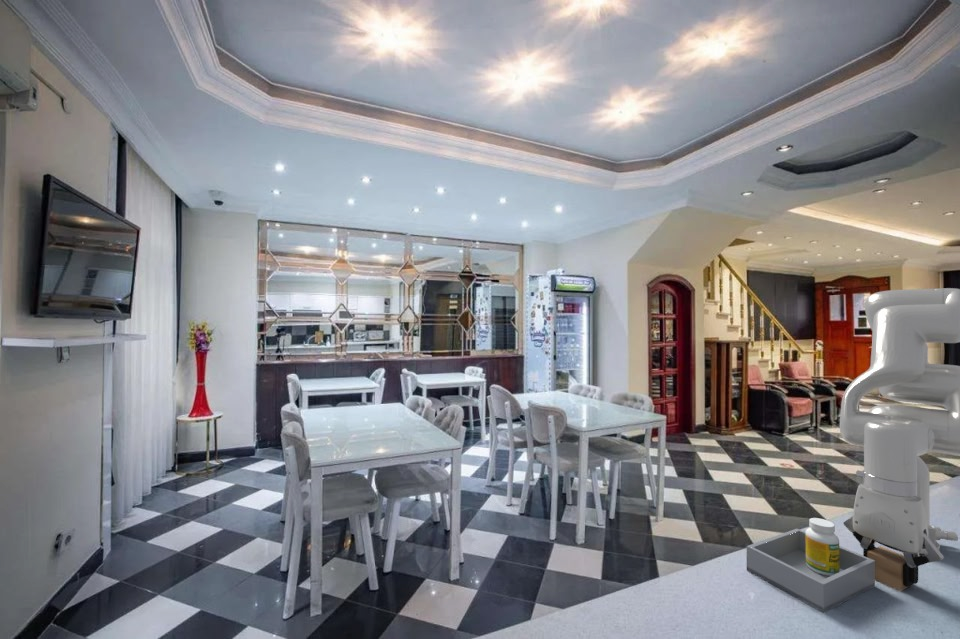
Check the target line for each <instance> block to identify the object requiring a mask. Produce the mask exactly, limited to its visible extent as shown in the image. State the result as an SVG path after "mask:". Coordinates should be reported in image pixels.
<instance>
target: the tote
mask: <svg viewBox="0 0 960 639" xmlns="http://www.w3.org/2000/svg"><path fill="white" fill-rule="evenodd" d="M795 532H796V533H795ZM805 532H806V530H802V529H799V528H795V529H791V530H789V531H786V532H783V533H781V534H780V533H779V534H777V535H774V536H772V537H771V536H770V537H769V538H765V539H763V540H760V541H757V542H755V543H751V544H749V545H746V571H747V572H749V573H751V574H753V575H754V576H755V577H758V578H760V579H761V580H763V581H766V582H767V583H769V584H771V585H772V586H774V587H776V588H778V589H780V590H781V591H783V592H785V593H787V594H788V595H790V596H793V597H794V598H796V599H798V600H799V601H801V602H803V603H805V604H806V605H809V606H810V607H812V608H814V609H815V610H818V611H819V612H821V613H823V614H824V613H826V612H827V611H829V610H832V609H834V608H836V607H837V606H839V605H841V604H843V603H845V602H847V601H849V600H851V599H853V598H855V597H857V596H859V595H861V594H862V593H864V592H867V591H868V590H871V589H872V588H874V587H876V580H875V560H872V559H870V558H867V557H865V556H863V555H862V554H860V553H858V552H855V551H853V550H851V549H848V548H846V547H844V546H841V545H839V566H840V572H839V573H837V574H834V575H832V576H826V575H822V574H819V573H817V572H814V571H813V570H811V569H810V568H809V567H808V566H807V564H806V536H805ZM792 533H793V534H792ZM790 534H791V535H790ZM766 542H767V543H766ZM751 547H752V548H751Z"/></svg>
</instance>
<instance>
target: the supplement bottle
mask: <svg viewBox="0 0 960 639" xmlns="http://www.w3.org/2000/svg"><path fill="white" fill-rule="evenodd" d="M808 522H809V523H808V526H809V527H808V528H807V529H805V536H806V564H807V566H808V567H809V568H810V569H811V570H813V571H814V572H817V573H819V574H822V575H826V576H832V575H834V574H837V573H839V572H840V566H839V546H840V539H839V537H838V535H836V533H835V532H836V528H835V527H836V526H835V524H834V523H833V522H832V521H830V520H827V519H824V518H818V517H811V518H809V521H808Z"/></svg>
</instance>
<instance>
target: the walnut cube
mask: <svg viewBox="0 0 960 639" xmlns="http://www.w3.org/2000/svg"><path fill="white" fill-rule="evenodd" d="M867 558H870V559H872V560H875V582H876V581H877V582H879V583H881V584H883V585H885V586H888V587H890V588H892V589H895V590H897V591H899V592H902V591H904V590H905V589H908V587H906V586H904V585H903V565H905V564H906V560H905V557H904V554H903V553H902V554H901V553H899V552H896V551H893V550H891V549H888V548H886V547H883V546H881V545H880V546H877V547H876V548H875V549H872V550H870V551H868V552H867Z"/></svg>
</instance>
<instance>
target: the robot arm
mask: <svg viewBox="0 0 960 639" xmlns="http://www.w3.org/2000/svg"><path fill="white" fill-rule="evenodd" d="M864 312H865V316H866V320H867V322H868V325H869V327H870V330H871V331H872V334H871V341H872V343H871V355H870V366H869V367H868V369H867V370H866V371H865V372H864V371H863V373H861V374H860V375H858V376H857V377H856V378H854V379H853V381H851V383H850V384H849V385H848V386H847V388H845V391H844V393H843V394H842V398H841V406H840V417H839V433H840V436H841V437H842V439H843V440H844V441H846V443H847V444H848V443H849V444H851V445H854V446H858V447H863V470H856V471H855V476H856V478H857V477H858V478H860V479H862V483H860V484H858V487H857V489H856V494H855V497H854V498H855V500H854V504H853V511H852V512H853V513H852V516H851V517H850V518H848V519H847V520H845V521H843V525H844V526H845V528H847V529H848V530H849V532H851V533H852V536H853V537H854V538H855V539H856V540H857V542H859V545H860V547H861V548H862V549H863V552H862V553H863V556H865V557H867V552H868V551H870V550H872V549H875V548H877V547H876V546H875V544H876V542H878V543H880V544H882V545H885V546H888V547H890V548H894V549H896V550H899V551H901V552H902V555H904V557H905V560H906V564H905V565H903V585H904V586H906V587H907V588H909V587H911V586H913V585H915V584H918V582H919V566H920V567H921V566H923V565H925V564H928V563H934V562H940V561H942V560H944V559H945V556H944V554H942V552H941V546H940V543H939V542H938V541H941V540H945V541H953V542H957V541H959V536H958V534H957V532H955V531H951V530H950V531H949V530H942V529H941V527H939V526H934V525H933V526H932V525H931V524H930V523H931V522H930V521H931V518H930V516H931V515H930V513H931V512H930V505H931V504H930V503H931V502H930V501H931V499H930V493H931V492H930V490H931V489H930V488H931V487H930V484H931V483H930V481H931V480H930V474H931V473H930V469H929V467H928V466H927V464H926V463H925V461H924V460H923V459H922V458H921V457H920V456H923V455H925V454H927V453H928V452H930V453H931V452H932V453H939V454H945V455H951V456H958V457H960V365H955V364H941V363H940V364H939V363H930V362H929V361H928V357H929V352H928V351H929V347H928V346H929V345H928V344H927V343H936V344H940V343H941V344H942V343H943V344H957V343H960V288H957V287H956V288H955V287H954V288H953V287H952V288H951V287H946V288H921V289H920V288H919V289H917V288H916V289H913V288H911V289H891V290H890V289H889V290H883V291H882V290H881V291H877V292H874V293H872V294H869V295H868V296H867V297H866V299H865V302H864ZM875 390H878V392H879V394H880V395H881V397H883V398H885V399H888V400H892V401H896V402H897V401H898V402H905V403H914V404H921V405H930V406H939V407H943V408H945V409H946V410H945V409H935V408H926V407H921V406H912V405H903V404H902V405H901V404H887V403H885V404H878V405H874V406H873V407H871V408H870V409H869V410H868V412H866V411H859V410H858V409H859V403H860V402H861V400H862V399H863V397H864V396H866V395H867V394H869V393H870V392H873V391H875Z"/></svg>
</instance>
